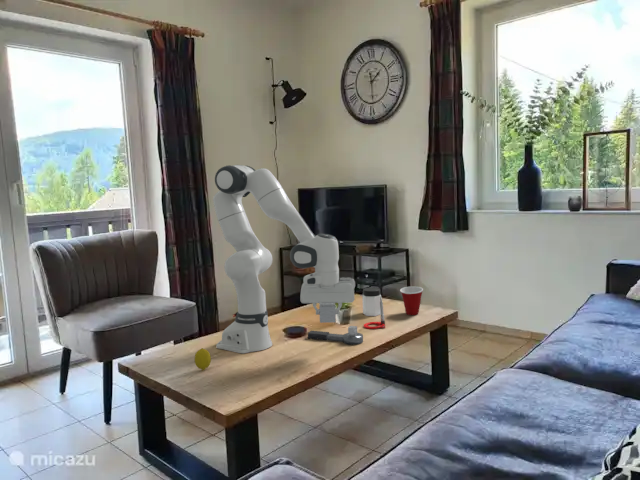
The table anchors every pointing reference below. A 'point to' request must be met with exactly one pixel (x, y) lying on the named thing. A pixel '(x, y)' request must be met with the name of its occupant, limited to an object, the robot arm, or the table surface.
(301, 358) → the table surface
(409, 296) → the plastic cup
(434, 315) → the table surface
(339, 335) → the ratchet
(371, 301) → the jar
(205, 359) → the lemon
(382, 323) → the tow hook
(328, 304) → the grey wooden cube
